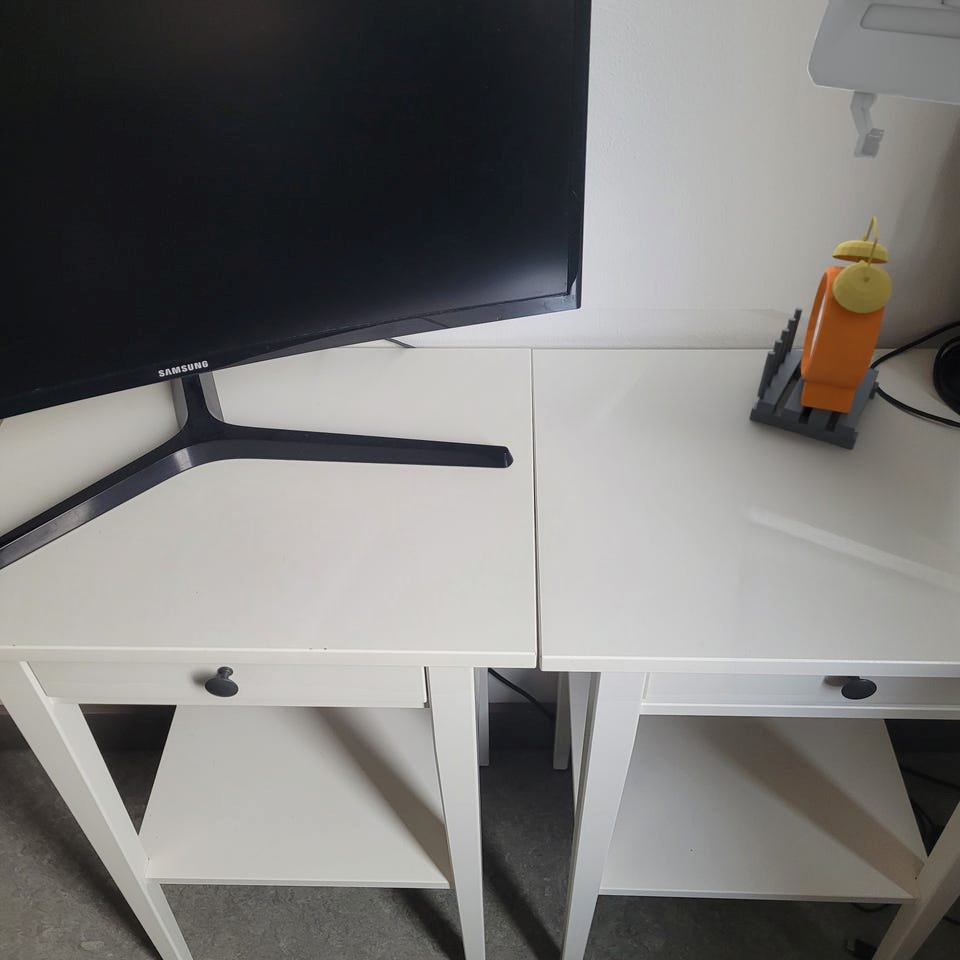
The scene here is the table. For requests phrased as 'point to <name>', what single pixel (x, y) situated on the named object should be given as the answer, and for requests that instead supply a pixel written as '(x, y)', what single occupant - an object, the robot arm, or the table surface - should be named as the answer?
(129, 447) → the table surface
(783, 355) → the rack
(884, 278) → the alarm clock
